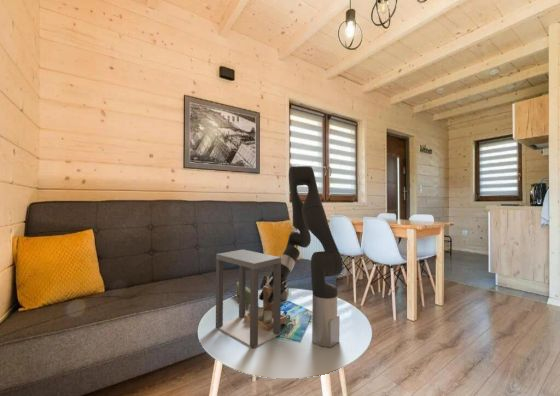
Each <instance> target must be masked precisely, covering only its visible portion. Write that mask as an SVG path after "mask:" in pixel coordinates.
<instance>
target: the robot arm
mask: <svg viewBox="0 0 560 396" xmlns="http://www.w3.org/2000/svg"><path fill="white" fill-rule="evenodd" d="M288 186H289V192H290V193H289V194H290V199H291V207H292V227H293V228H294V229H296V230H293V231H291V232H290V233H289V235H288V240H287V244H286V247H285V249H284V251H283V253H282V254H281V256H280V257H281V294H282V293H283V292H284V291H285V290H286V289H287V287H289V284H288V283H287V282H286V281H287V279H288V278H289V276H290V274H291V272H292V270H293V269H294V266H295V265H296V263H297V260H298V258H299V256H300V250H299V249H298V248H297V247H300V248H305V249H306V248H308V247H309V246H310V244H311V241H312V239H311V234H312V235H314V237H315V238H316V239H317V240H318V241H319V242H320V244H321V246H322V248H323V251H315V252H313V253H312V255H311V257H310V272H311V273H310V274H311V276H310V277H311V278H310V279H311V283H310V284H311V288H312V302H311V303H312V305H311V306H312V307H311V308H312V309H311V310H312V311H311V312H312V313H311V315H312V316H311V318H312V319H311V320H312V322H311V331H312V332H311V333H312V334H311V340H312V342H313V343H314V344H315V345H318V346H319V347H326V348H332V347H334V346H336V344H338V343H339V342H340V323H341V322H340V320H341V319H340V315H338V288H337V286H336V285H335V284H332V283H329V282H326V278H325V277H327V278H328V277H333V276H334V277H335V276H340V275H342V273H343V269H344V267H343V266H344V265H343V260H342V256H341V253H340V250H339V249H338V246H337V243H336V242H335V239H334V236H333V234H332V231H331V228H330V225H329V223H328V222H329V221H328V218H327V214H326V212H325V208H324V206H323V203H322V199H321V196H320V194H319V188H318V185H317V181H316V176H315V172H314V169H313V167H312V166H311V165H309V164H302V165H300V164H299V165H291V166H290V167H289V169H288ZM299 186H307V189H308V192H307V194H306V197H305V199H304V202H303V200H302V199H301V197H300V195H299V192H298V187H299ZM310 232H311V233H310ZM295 246H297V247H295ZM266 285H267V286H271V287H273V288H274V267H273V269H271V274H270V275H269V276H266V275H264V276H263V278H262V281H261V284H260V288H261V290H262V291H261V292H260V294H258V300H260V301H263V286H266ZM273 295H274V289H273V291H272V293H271V295H270V296H269V298H268V300H267V302H268V303H270V304H271V303H272V302H273Z"/></svg>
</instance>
